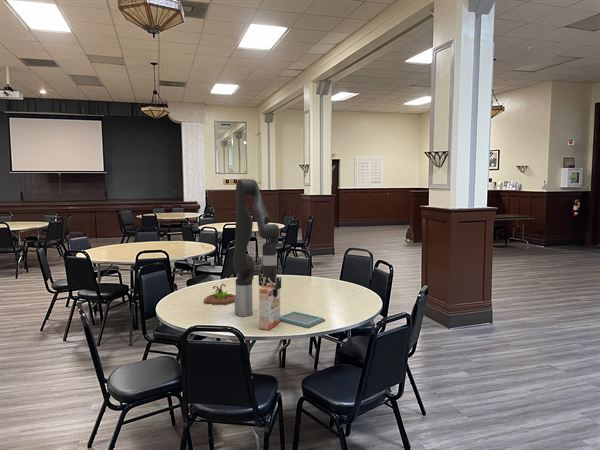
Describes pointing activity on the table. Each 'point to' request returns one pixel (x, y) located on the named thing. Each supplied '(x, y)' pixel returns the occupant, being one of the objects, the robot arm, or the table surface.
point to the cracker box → (268, 307)
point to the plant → (220, 297)
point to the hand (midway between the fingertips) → (269, 295)
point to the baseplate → (301, 319)
